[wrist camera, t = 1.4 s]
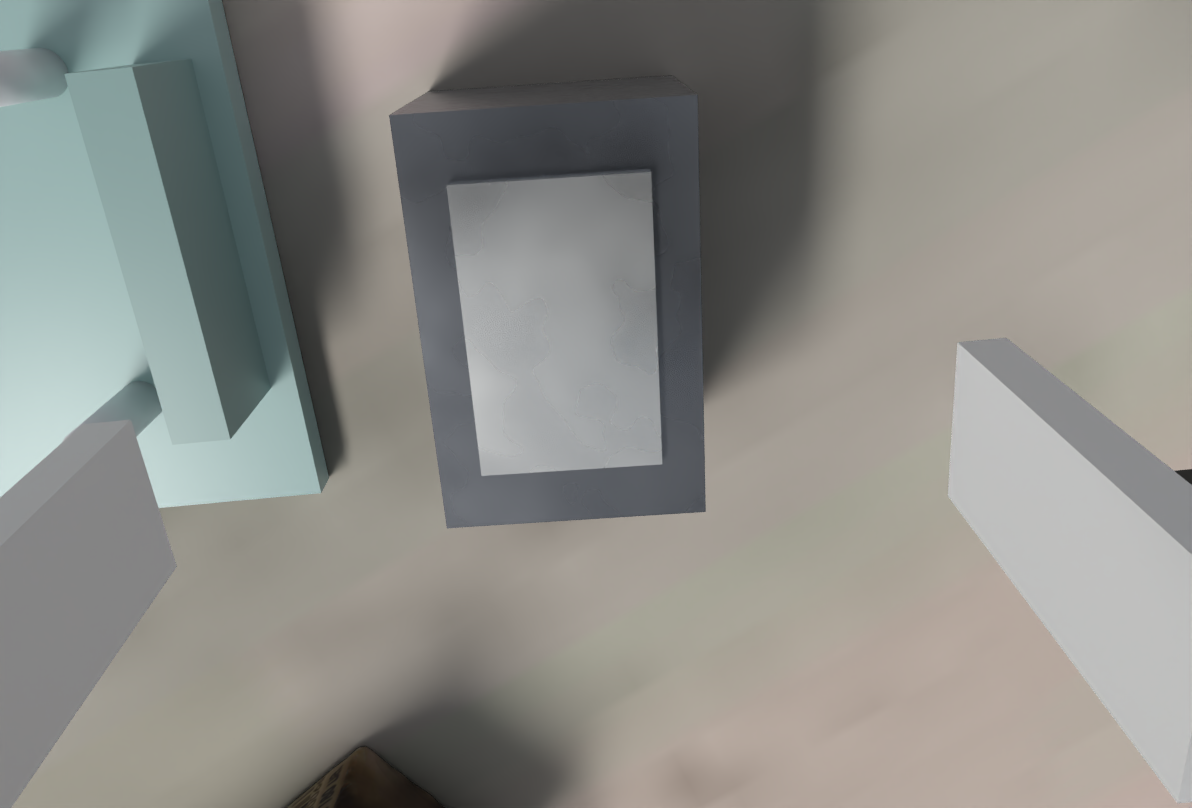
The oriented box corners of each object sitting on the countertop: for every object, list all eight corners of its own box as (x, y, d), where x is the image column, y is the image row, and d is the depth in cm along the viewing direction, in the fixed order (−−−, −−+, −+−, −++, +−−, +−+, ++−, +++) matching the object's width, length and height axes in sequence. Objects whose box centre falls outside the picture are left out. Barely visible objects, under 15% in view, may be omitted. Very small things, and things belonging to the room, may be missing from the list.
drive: (680, 416, 29) (706, 515, 24) (471, 429, 30) (445, 532, 24) (671, 74, 26) (698, 95, 20) (429, 90, 26) (387, 116, 20)
